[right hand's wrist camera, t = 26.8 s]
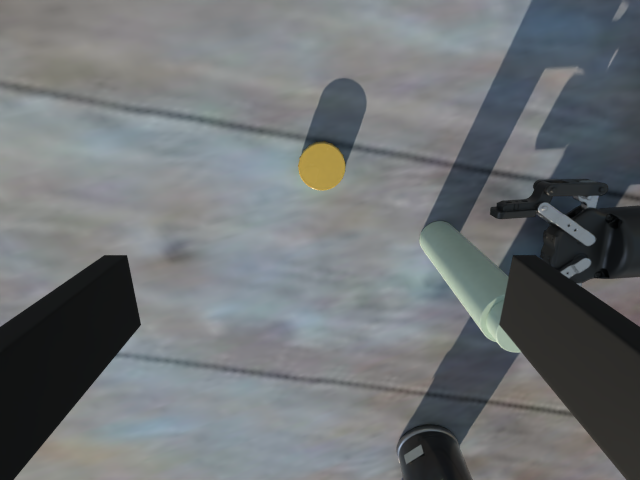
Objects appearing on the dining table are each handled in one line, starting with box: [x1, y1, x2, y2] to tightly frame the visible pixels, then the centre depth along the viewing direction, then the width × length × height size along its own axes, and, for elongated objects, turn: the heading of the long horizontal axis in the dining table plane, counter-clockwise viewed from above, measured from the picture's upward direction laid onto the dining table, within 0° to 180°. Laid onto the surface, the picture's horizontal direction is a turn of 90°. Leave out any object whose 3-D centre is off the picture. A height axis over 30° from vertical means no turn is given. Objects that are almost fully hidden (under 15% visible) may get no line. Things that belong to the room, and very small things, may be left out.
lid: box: [298, 141, 346, 190], centre depth 40 cm, size 5×5×2 cm
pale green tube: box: [420, 221, 521, 352], centre depth 35 cm, size 4×4×20 cm
